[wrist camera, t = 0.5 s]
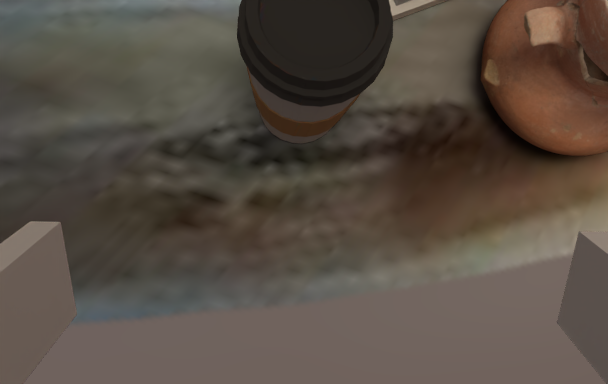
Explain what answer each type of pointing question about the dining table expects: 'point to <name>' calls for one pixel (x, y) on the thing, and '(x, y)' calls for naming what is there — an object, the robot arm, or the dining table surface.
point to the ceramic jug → (550, 73)
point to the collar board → (410, 6)
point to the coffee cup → (311, 59)
